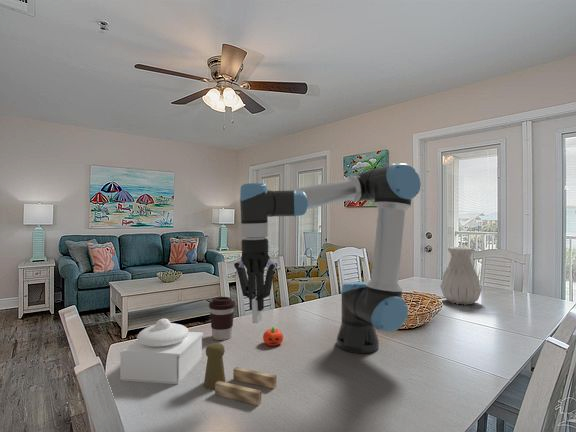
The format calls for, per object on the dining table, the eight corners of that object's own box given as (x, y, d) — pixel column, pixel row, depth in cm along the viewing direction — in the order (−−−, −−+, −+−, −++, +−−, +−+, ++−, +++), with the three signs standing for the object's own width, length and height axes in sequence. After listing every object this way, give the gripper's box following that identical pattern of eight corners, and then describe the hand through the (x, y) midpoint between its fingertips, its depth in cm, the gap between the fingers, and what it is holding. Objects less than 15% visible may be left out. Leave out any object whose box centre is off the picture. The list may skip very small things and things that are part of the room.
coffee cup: (229, 342, 126) (229, 302, 126) (204, 340, 128) (204, 301, 128) (238, 333, 136) (238, 296, 136) (215, 331, 138) (215, 295, 138)
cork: (205, 378, 98) (206, 340, 98) (226, 378, 99) (227, 340, 99) (202, 389, 92) (202, 349, 92) (224, 388, 93) (224, 348, 93)
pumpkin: (286, 344, 126) (288, 328, 125) (271, 350, 120) (273, 333, 120) (273, 337, 131) (274, 321, 130) (257, 343, 125) (259, 326, 124)
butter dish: (152, 355, 114) (152, 308, 114) (203, 359, 112) (203, 311, 112) (120, 381, 97) (120, 325, 97) (179, 385, 95) (179, 328, 95)
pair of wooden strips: (276, 386, 94) (276, 375, 94) (258, 405, 84) (258, 393, 84) (236, 377, 99) (236, 366, 99) (214, 394, 90) (215, 383, 90)
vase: (446, 306, 177) (446, 249, 177) (436, 297, 197) (436, 245, 197) (487, 308, 174) (488, 250, 174) (473, 299, 194) (473, 246, 194)
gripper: (281, 237, 96) (283, 319, 97) (241, 237, 102) (243, 315, 102) (269, 239, 89) (272, 328, 90) (227, 239, 95) (230, 323, 95)
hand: (257, 321), depth 96 cm, fingers closed
